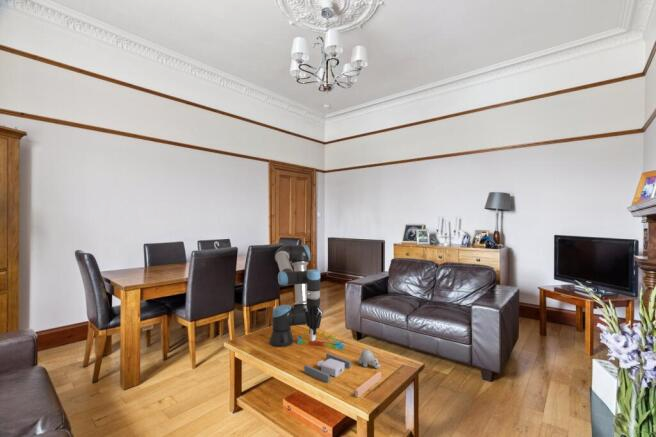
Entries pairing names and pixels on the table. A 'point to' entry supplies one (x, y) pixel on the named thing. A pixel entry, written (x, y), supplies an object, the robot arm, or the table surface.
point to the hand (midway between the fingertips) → (312, 340)
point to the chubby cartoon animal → (368, 359)
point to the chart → (321, 342)
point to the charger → (331, 367)
